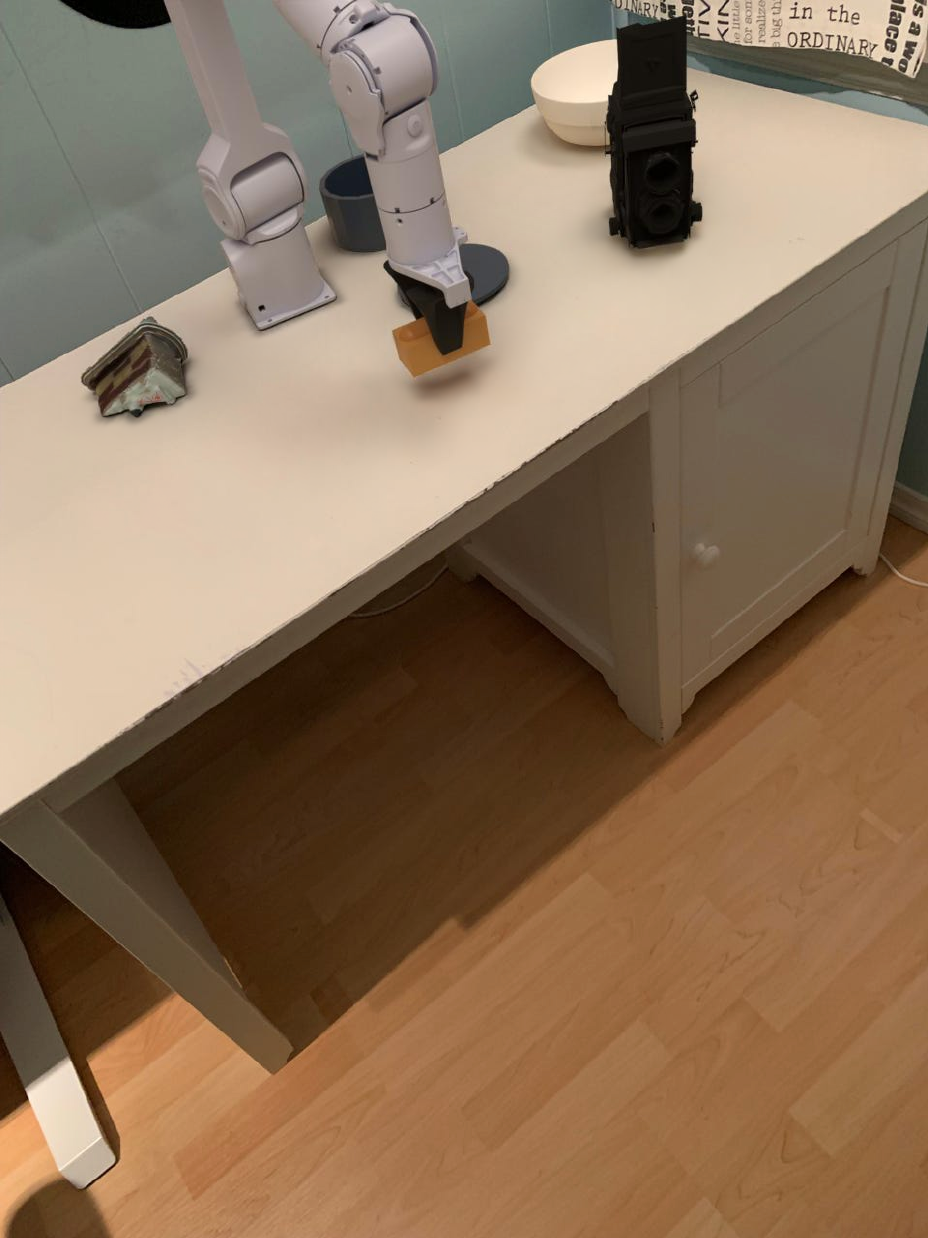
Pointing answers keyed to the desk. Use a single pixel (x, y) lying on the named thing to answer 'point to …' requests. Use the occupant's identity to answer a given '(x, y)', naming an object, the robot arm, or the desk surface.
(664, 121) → the camera
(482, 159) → the desk surface
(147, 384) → the chocolate cake
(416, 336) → the orange open box
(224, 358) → the desk surface
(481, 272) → the lid
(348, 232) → the pot
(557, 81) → the bowl
